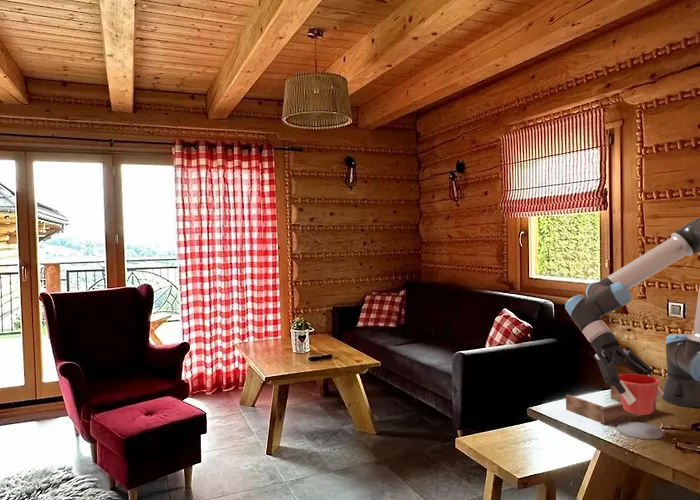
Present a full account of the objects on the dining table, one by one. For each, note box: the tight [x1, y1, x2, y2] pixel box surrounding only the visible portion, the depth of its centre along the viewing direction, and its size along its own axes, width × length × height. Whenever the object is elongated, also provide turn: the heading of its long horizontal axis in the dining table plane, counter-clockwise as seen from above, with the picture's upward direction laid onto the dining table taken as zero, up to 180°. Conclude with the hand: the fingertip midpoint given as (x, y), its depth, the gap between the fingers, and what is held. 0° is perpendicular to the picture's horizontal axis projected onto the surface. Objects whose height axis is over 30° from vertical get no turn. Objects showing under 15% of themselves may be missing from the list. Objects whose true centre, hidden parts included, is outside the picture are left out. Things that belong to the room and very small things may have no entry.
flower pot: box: [618, 373, 660, 416], centre depth 150 cm, size 11×11×10 cm
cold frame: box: [565, 385, 657, 426], centre depth 169 cm, size 16×24×5 cm, turn 113°
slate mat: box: [616, 421, 664, 441], centre depth 151 cm, size 12×12×1 cm
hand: (646, 399), depth 148 cm, fingers closed on flower pot, 11 cm apart
